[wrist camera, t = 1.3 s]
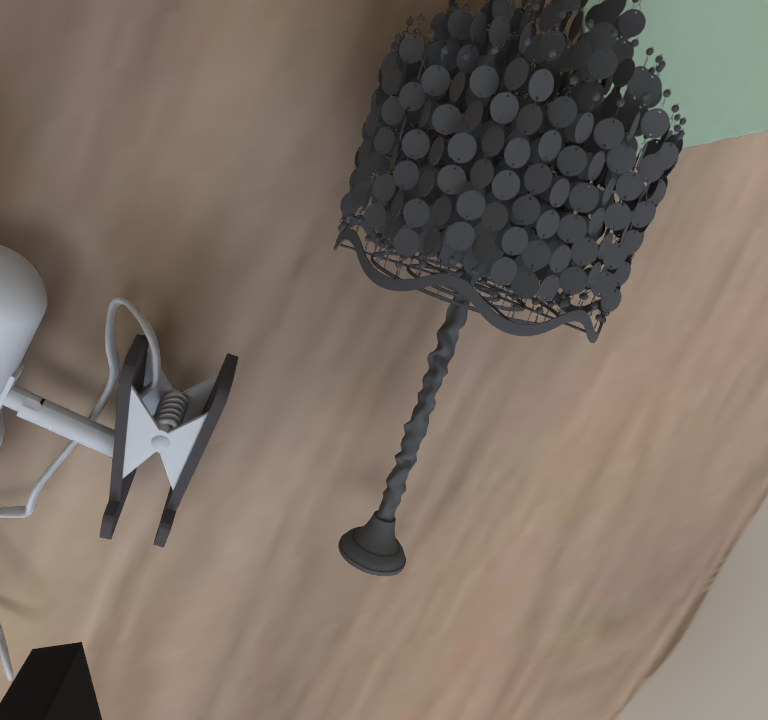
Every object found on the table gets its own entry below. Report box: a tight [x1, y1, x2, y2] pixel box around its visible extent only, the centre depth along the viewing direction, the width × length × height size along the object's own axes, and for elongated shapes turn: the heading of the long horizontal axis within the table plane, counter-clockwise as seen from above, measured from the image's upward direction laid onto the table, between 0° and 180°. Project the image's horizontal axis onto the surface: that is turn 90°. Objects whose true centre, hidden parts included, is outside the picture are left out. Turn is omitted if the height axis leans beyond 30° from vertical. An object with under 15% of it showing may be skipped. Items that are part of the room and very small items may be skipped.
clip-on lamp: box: [0, 245, 238, 681], centre depth 27 cm, size 12×6×18 cm
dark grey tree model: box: [334, 0, 686, 576], centre depth 24 cm, size 9×22×9 cm, turn 163°
